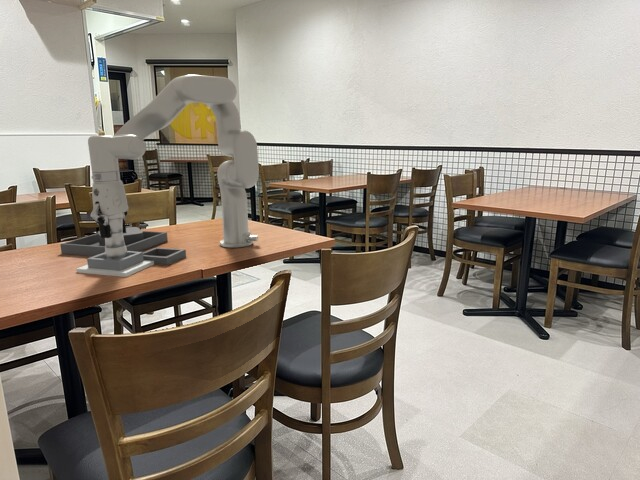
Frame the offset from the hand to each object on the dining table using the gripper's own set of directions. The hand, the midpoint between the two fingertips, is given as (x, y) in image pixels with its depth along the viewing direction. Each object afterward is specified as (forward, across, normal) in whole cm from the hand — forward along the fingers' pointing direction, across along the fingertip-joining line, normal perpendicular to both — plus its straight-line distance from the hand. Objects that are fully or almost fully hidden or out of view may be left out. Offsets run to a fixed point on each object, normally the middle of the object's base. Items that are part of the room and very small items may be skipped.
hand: (113, 234), depth 139 cm
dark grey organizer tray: (+11, +23, +19) cm, 32 cm away
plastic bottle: (+9, 0, 0) cm, 9 cm away
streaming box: (+11, +24, +18) cm, 32 cm away
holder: (+11, +12, -8) cm, 18 cm away
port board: (+11, 0, 0) cm, 11 cm away
